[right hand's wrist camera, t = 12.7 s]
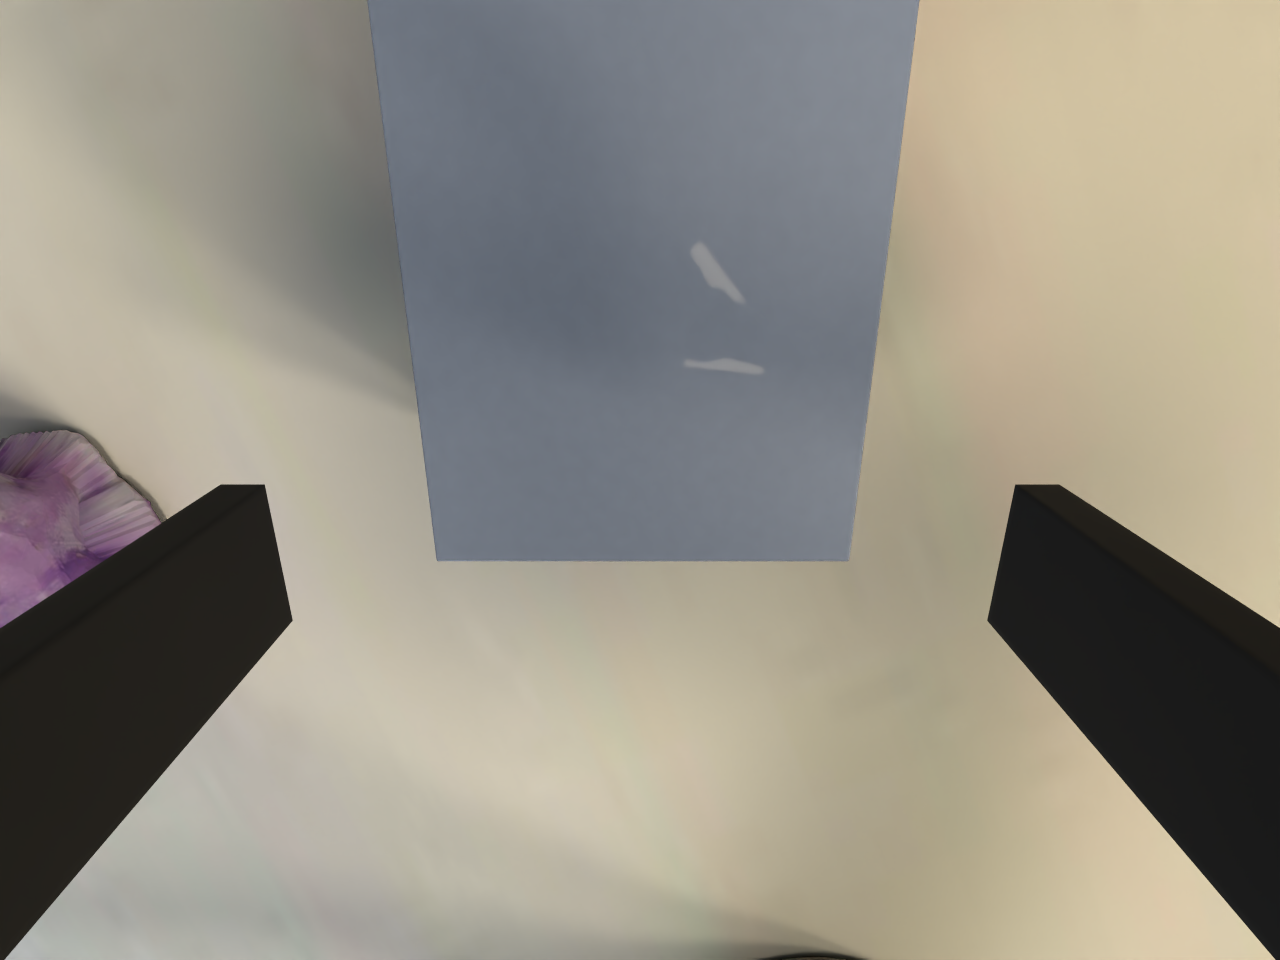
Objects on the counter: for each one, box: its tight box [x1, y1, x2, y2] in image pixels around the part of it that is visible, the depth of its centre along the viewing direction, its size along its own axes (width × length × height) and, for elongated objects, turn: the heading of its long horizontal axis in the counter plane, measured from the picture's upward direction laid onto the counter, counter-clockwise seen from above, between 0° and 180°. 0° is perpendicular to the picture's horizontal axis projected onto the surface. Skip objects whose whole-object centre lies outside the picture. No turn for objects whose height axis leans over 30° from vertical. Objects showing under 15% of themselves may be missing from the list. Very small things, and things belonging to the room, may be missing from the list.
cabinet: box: [367, 0, 919, 561], centre depth 19 cm, size 22×11×9 cm, turn 0°
